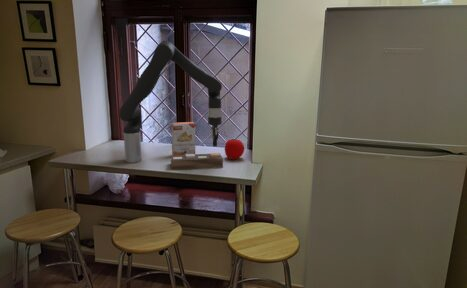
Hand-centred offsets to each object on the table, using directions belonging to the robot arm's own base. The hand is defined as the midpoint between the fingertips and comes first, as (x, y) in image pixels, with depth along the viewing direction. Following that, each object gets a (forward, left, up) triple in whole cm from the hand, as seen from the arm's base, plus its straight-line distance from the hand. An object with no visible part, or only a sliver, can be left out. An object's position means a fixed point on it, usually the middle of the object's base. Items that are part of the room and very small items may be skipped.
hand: (214, 146), depth 189 cm
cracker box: (-23, -17, -11) cm, 30 cm away
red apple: (-11, +13, -11) cm, 20 cm away
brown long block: (0, -11, -11) cm, 15 cm away
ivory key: (0, -21, -9) cm, 23 cm away
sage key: (0, -7, -9) cm, 12 cm away
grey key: (0, -14, -8) cm, 16 cm away
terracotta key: (0, 0, -8) cm, 8 cm away
